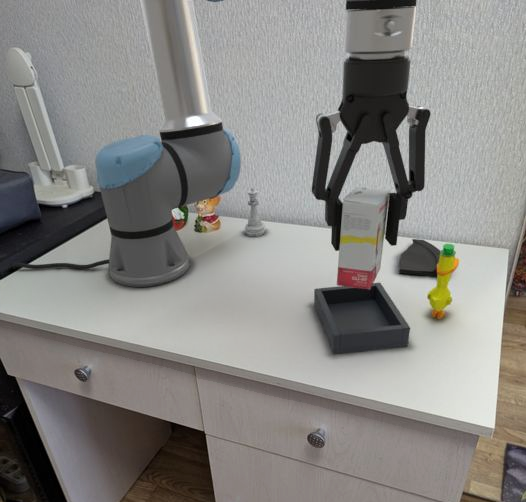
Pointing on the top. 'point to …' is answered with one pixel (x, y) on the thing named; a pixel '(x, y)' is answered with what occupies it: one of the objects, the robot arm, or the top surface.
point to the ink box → (362, 236)
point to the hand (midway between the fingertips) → (363, 244)
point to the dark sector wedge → (420, 259)
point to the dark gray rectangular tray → (360, 319)
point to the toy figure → (443, 281)
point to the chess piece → (254, 217)
